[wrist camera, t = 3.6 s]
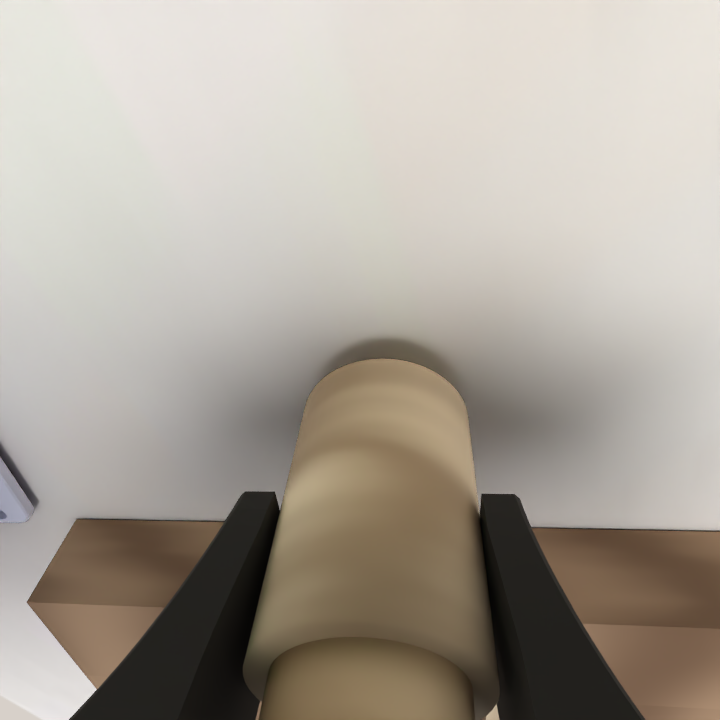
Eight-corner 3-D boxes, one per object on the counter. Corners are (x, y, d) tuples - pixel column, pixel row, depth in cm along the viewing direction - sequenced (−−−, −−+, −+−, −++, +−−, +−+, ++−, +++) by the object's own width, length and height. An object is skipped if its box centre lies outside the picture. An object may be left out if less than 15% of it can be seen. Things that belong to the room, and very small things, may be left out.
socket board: (190, 707, 28) (168, 781, 25) (76, 519, 19) (24, 605, 16) (650, 734, 25) (675, 820, 23) (768, 532, 16) (830, 636, 14)
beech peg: (314, 479, 15) (221, 979, 8) (292, 360, 12) (125, 921, 5) (465, 480, 14) (517, 1012, 7) (472, 356, 12) (559, 967, 5)
